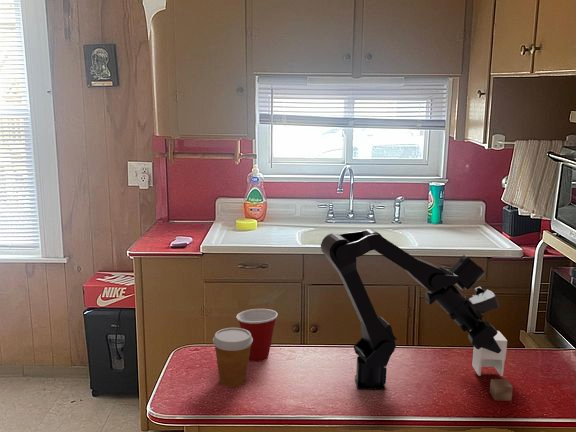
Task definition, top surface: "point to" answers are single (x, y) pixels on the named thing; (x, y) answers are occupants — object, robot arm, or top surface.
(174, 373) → the top surface
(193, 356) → the top surface
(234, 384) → the disposable coffee cup
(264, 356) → the plastic cup
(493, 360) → the white notched block
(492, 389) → the walnut block
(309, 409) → the top surface
